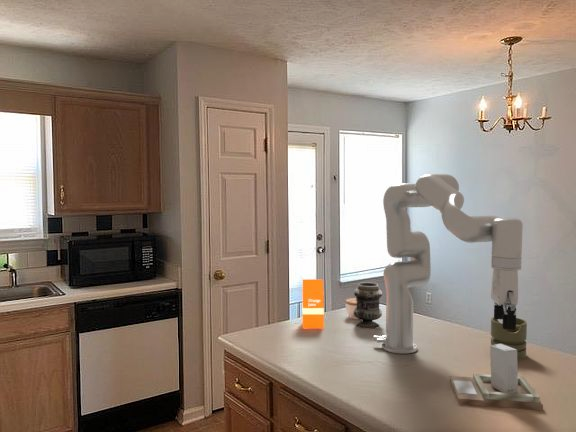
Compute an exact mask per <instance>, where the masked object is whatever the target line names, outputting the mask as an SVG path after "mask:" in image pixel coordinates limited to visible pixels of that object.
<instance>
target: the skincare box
mask: <svg viewBox="0 0 576 432" xmlns="http://www.w3.org/2000/svg"><path fill="white" fill-rule="evenodd" d="M489 347H490V348H489V349H490V350H489V351H490V352H489V353H490V375H491V387H493V388H495V389H497V390H499V391H501V392H504V393H517V392H518V377H519V375H518V360H517V350H516V349H514V348H511V347H509V346H506V345H503V344H496V345H491V344H490V346H489Z"/></svg>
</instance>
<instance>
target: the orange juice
mask: <svg viewBox="0 0 576 432" xmlns="http://www.w3.org/2000/svg"><path fill="white" fill-rule="evenodd" d="M301 293H302V294H301V295H302V296H301V297H302V298H301V299H302V305H301V307H302V310H301V311H302V329H324V320H325V319H324V317H325V316H324V315H325V314H324V313H325V309H324V308H325V307H324V301H325V300H324V295H325V294H324V280H323V278H322V279H319V278H318V279H309V278H308V279H303V278H302V292H301Z"/></svg>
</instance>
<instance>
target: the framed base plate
mask: <svg viewBox="0 0 576 432" xmlns="http://www.w3.org/2000/svg"><path fill="white" fill-rule="evenodd" d="M449 383H450V386H451V388H452V391H453V394H454V396H455V399H456V402H457V404H458V405H466V406H468V405H469V406H479V407H491V408H493V407H494V408H495V407H496V408H508V409H519V410H520V409H522V410H534V411H543V410H544V404H543V403H542V401H541V398H540V395H539V394H538V393H537V392H536V390H535V389H534V388H533V387H532V385H531V384H530V383H529V382H528V380H527V379H526V377H524V376H518V392H517V393H504V392H501V391H499V390H497V389H495V388H493V387H491V374H485V373H482V374H481V373H472V376H470V377H468V376H456V375H455V376H454V375H449Z"/></svg>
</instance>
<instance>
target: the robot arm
mask: <svg viewBox="0 0 576 432" xmlns="http://www.w3.org/2000/svg"><path fill="white" fill-rule="evenodd" d="M459 184H460V183H459V182H458V180H457V179H456V178H455V177H454V176H453V175H450V174H446V173H444V174H443V173H440V174H439V173H430V174H424V175H421V176H420V177H419V178H418V179H417V180H416V183H414V182H413V183H412V182H409V183H408V182H406V183H405V182H404V183H403V182H402V183H396V184H392V185H391V186H389V187H388V188H387V189H386V191H384V195H383V200H382V202H383V211H384V214H385V219H386V220H385V221H386V250H387V253H388V255H389V256H390V257H392V258H395V259H405V258H410V260H405V261H403V260H402V261H394V262H390V263H389V264H388V265H386V266H385V267H384V269H383V282H384V288H385V297H386V299H385V304H386V305H385V306H386V307H385V308H386V313H385V316H386V318H385V319H386V320H385V322H386V324H385V326H386V328H385V333H384V335H383V334H382V336H381V335H373V342H376V343H378V344H379V343H381V348H382V349H383V350H384V351H386V352H388V353H392V354H401V355H402V354H412V353H415V352H417V351H418V345H417V344H416V343H414V298H413V296H412V294H411V292H410V291H409V288H416V287H422V286H425V285H426V284H428V283H429V281H430V279H431V270H432V269H431V247H430V241H429V239H428V236H427V235H426V233H424V232H422V231H420V230H412V229H411V217H410V215H409V214H408V212H407V211H406V208H427V207H433V208H434V209H435V210H437V211H438V212H439V213H440V214H441V220H442V223H443V225H444V227H445V228H446V230H448V232H450V233H451V234H452V235H454V236H455V237H457V238H458V239H459V240H460V241H461V242H465V243H470V244H474V243H489V242H491V260H490V261H491V263H490V264H491V266H490V267H491V269H492V277H491V292H490V298H491V300H492V301H493V302H494V303H493V304H494V305H493V317H494V318H495V319H498V320H502V323H503V329H510V330H515V329H516V318H517V305H518V299H519V273H518V271H521V270H522V256H523V255H522V254H523V253H522V251H523V227H524V226H523V221H522V220H521V219H518V218H513V217H500V216H498V215H497V216H496V215H476V216H475V215H472V216H470V215H468V214H467V213H465V212H464V211H463V210H461V209H462V208H463V206H464V203H465V198H464V195H463V193H461V192H460V186H459Z"/></svg>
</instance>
